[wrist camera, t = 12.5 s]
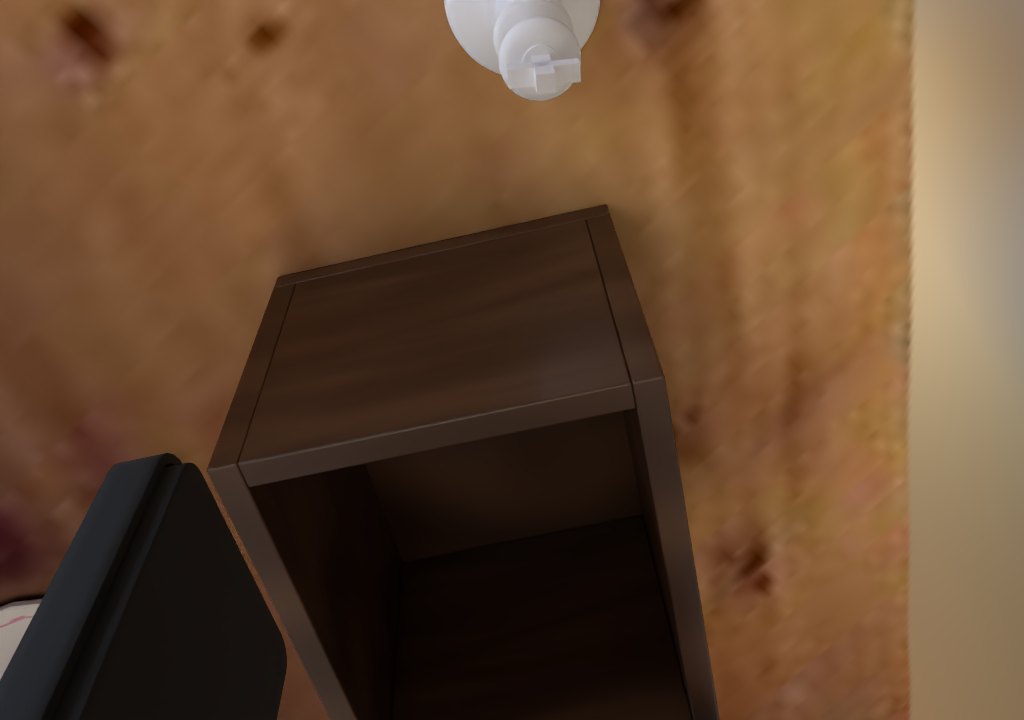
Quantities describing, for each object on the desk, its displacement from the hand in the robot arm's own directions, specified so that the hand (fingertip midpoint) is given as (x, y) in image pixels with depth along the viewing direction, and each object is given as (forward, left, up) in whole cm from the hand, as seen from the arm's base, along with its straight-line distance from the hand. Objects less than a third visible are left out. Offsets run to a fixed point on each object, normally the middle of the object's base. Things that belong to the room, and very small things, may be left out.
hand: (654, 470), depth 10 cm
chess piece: (0, 0, -24) cm, 24 cm away
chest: (+12, +9, -24) cm, 28 cm away
